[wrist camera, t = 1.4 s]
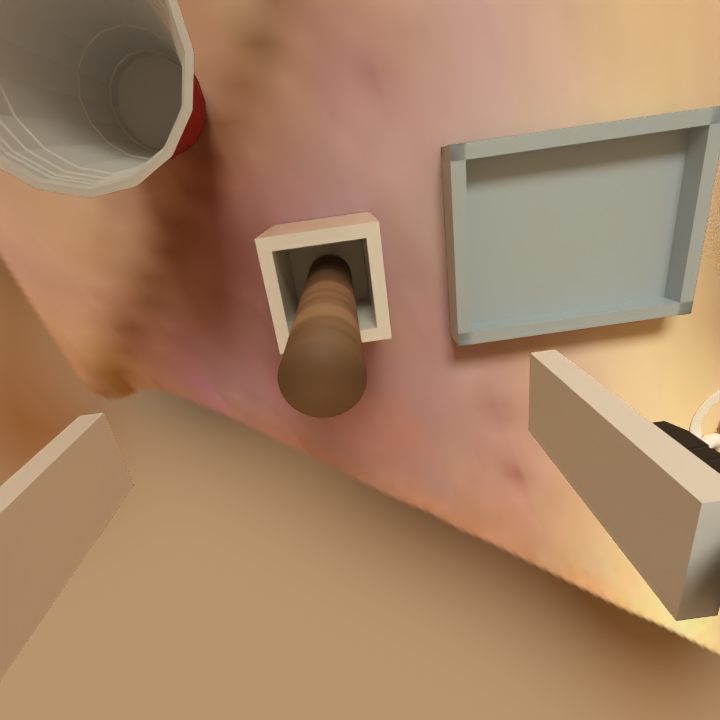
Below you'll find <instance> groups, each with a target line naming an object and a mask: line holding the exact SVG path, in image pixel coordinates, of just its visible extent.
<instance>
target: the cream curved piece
mask: <svg viewBox="0 0 720 720" xmlns="http://www.w3.org/2000/svg"><path fill="white" fill-rule="evenodd" d="M719 400H720V390H719V391H717V392H716V393H714V394H713V395H711V396H710V397H709V398H708V399H707V400H706V401H704V403H703V404H702V405H701V406H700V407H699V408H698V410H697V411H696V413H695V415H694V417H693V419H692V421H691V425H690V432H691V433H692V434H694V435H695V436H697V437H698V438H700V439H701V440H702V441H704V442H705V443H707V444H708V445H709V447H710V448H714V449H715V450H717V451H718V452H719V453H720V434H718V433H710V434H707V435H704V436H702V434H701V424H702V421H703V418H704V416H705V414H706V413H707V412H708V410H709V409H710V408H711V407H712V406H713V405H714V404H715V403H717V402H718V401H719Z"/></svg>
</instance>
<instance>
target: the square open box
mask: <svg viewBox="0 0 720 720" xmlns="http://www.w3.org/2000/svg"><path fill="white" fill-rule="evenodd" d="M255 244H256V248H257V253H258V257H259V262H260V266H261V271H262V275H263V280H264V284H265V289H266V293H267V298H268V302H269V307H270V311H271V316H272V320H273V325H274V329H275V334H276V338H277V343H278V347H279V352H280V354H283V353H284V350H285V347H286V344H287V340H288V337H289V334H290V331H291V328H292V324H293V321H294V318H295V315H296V311H297V308H298V305H299V302H300V299H301V295H302V292H303V289H304V286H305V282H306V279H307V276H308V273H309V269H310V267H311V265H312V263H313V262H314V261H315V260H316V259H317V258H319V257H320V256H323V255H328V254H332V255H336V256H339V257H341V258H342V259H344V260H345V261H346V262H347V264H348V265H349V267H350V270H351V275H352V281H353V288H354V295H355V301H356V308H357V315H358V321H359V328H360V335H361V341H362V342H369V341H376V340H383V339H390V338H392V337H391V328H390V319H389V310H388V301H387V292H386V282H385V273H384V264H383V255H382V246H381V237H380V228H379V221H378V220H377V219H376V218H375V217H374V216H373V215H372V214H371V213H370V212H362V213H355V214H348V215H341V216H334V217H327V218H320V219H313V220H306V221H299V222H292V223H285V224H278V225H273V226H272V227H271V228H269V229H268V230H266V231H265V232H264V233H262V234H261V235H259V236H258V237H257V238H255Z"/></svg>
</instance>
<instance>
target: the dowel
mask: <svg viewBox="0 0 720 720" xmlns="http://www.w3.org/2000/svg"><path fill="white" fill-rule="evenodd" d="M366 379H367V377H366V368H365V361H364V355H363V348H362V341H361V335H360V328H359V321H358V315H357V308H356V301H355V295H354V288H353V281H352V275H351V270H350V267H349V265H348V264H347V262H346V261H345V260H344V259H342V258H341V257H339V256H336V255H332V254H328V255H323V256H320V257H319V258H317V259H316V260H315V261H314V262H313V263H312V265H311V267H310V269H309V273H308V276H307V279H306V282H305V286H304V289H303V292H302V295H301V299H300V302H299V305H298V308H297V311H296V315H295V318H294V321H293V324H292V328H291V331H290V334H289V337H288V340H287V344H286V347H285V350H284V353H283V357H282V360H281V363H280V366H279V370H278V384H279V388H280V391H281V393H282V395H283V397H284V398H285V400H286V401H287V402H288V403H289V404H290V405H291V406H292V407H293V408H295V409H296V410H298V411H299V412H301V413H303V414H306V415H309V416H313V417H332V416H336V415H339V414H342V413H344V412H346V411H348V410H349V409H351V408H352V407H353V406H354V405H355V404H356V403H357V402H358V401H359V399H360V398H361V396H362V394H363V392H364V390H365V386H366Z"/></svg>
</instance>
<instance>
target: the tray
mask: <svg viewBox="0 0 720 720" xmlns="http://www.w3.org/2000/svg"><path fill="white" fill-rule="evenodd" d="M719 154H720V106H717V107H710V108H703V109H696V110H689V111H682V112H675V113H668V114H661V115H654V116H647V117H640V118H633V119H626V120H620V121H613V122H606V123H599V124H592V125H585V126H578V127H571V128H564V129H557V130H550V131H543V132H536V133H529V134H522V135H515V136H508V137H501V138H494V139H487V140H481V141H474V142H467V143H460V144H453V145H448V146H445V147H441V158H442V178H443V197H444V217H445V236H446V256H447V275H448V295H449V314H450V333H451V337H452V338H453V339H454V341H455V342H456V343H457V345H458V346H464V345H471V344H478V343H485V342H492V341H499V340H506V339H513V338H520V337H527V336H535V335H542V334H549V333H556V332H563V331H570V330H577V329H584V328H591V327H598V326H605V325H612V324H619V323H627V322H634V321H641V320H648V319H655V318H662V317H669V316H676V315H683V314H690V313H691V310H692V304H693V299H694V293H695V288H696V282H697V277H698V271H699V265H700V260H701V254H702V249H703V243H704V238H705V232H706V227H707V221H708V215H709V210H710V204H711V199H712V193H713V188H714V182H715V177H716V171H717V166H718V160H719Z"/></svg>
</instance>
